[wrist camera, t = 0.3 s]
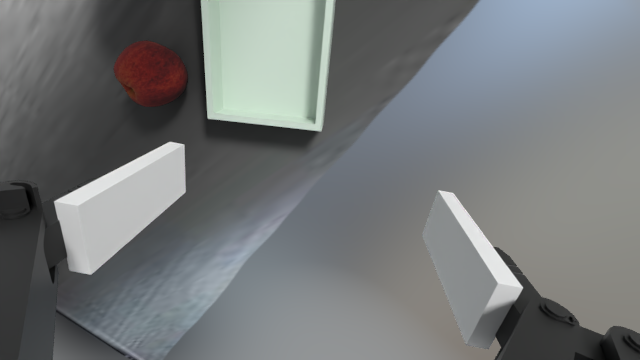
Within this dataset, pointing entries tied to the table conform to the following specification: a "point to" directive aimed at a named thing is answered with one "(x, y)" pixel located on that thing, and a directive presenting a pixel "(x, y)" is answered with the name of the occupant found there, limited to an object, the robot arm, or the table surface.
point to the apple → (151, 73)
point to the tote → (267, 60)
